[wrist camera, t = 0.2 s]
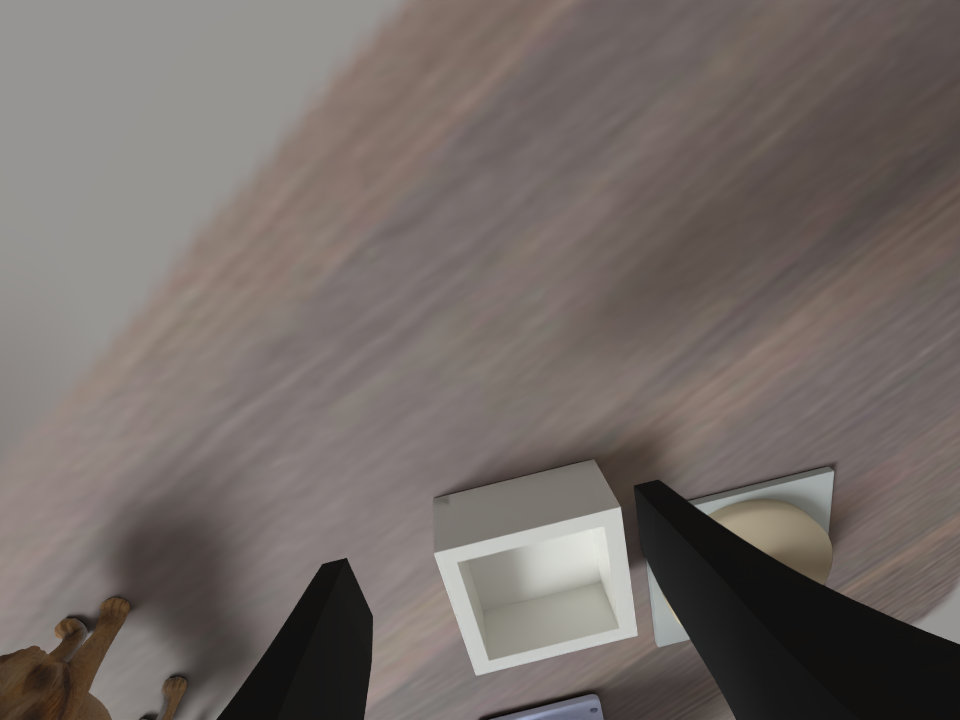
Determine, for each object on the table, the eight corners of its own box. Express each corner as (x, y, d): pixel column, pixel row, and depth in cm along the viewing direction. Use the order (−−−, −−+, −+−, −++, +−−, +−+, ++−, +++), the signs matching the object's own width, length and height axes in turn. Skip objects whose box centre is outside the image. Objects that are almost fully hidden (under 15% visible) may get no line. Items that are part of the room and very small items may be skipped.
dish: (612, 577, 26) (637, 635, 23) (470, 612, 26) (476, 675, 23) (593, 459, 23) (620, 506, 20) (433, 498, 23) (433, 553, 20)
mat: (816, 600, 29) (821, 606, 28) (655, 641, 29) (658, 647, 28) (828, 466, 25) (834, 470, 24) (641, 512, 25) (644, 517, 24)
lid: (813, 602, 28) (889, 688, 23) (665, 639, 28) (712, 733, 23) (823, 480, 25) (915, 553, 20) (654, 522, 24) (706, 605, 20)
